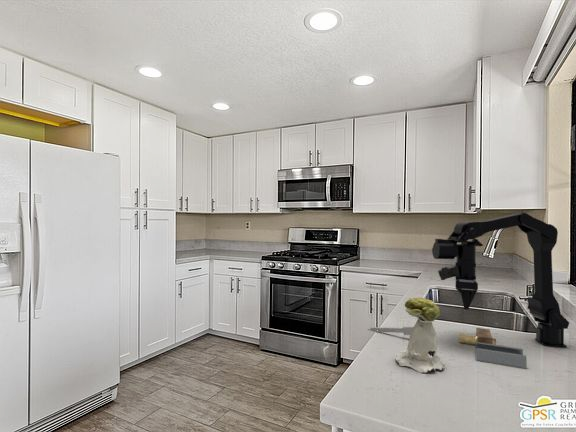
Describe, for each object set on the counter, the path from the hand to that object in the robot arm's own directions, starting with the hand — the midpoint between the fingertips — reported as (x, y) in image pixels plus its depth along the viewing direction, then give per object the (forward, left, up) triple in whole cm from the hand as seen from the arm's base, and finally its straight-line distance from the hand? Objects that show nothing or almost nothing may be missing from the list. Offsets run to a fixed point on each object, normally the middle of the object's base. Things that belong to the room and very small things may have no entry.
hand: (465, 306), depth 115 cm
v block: (-5, +14, -12) cm, 19 cm away
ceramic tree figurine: (+18, +22, -12) cm, 31 cm away
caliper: (+22, -1, -12) cm, 26 cm away
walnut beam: (-5, +1, -12) cm, 13 cm away
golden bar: (-3, +1, -12) cm, 13 cm away
